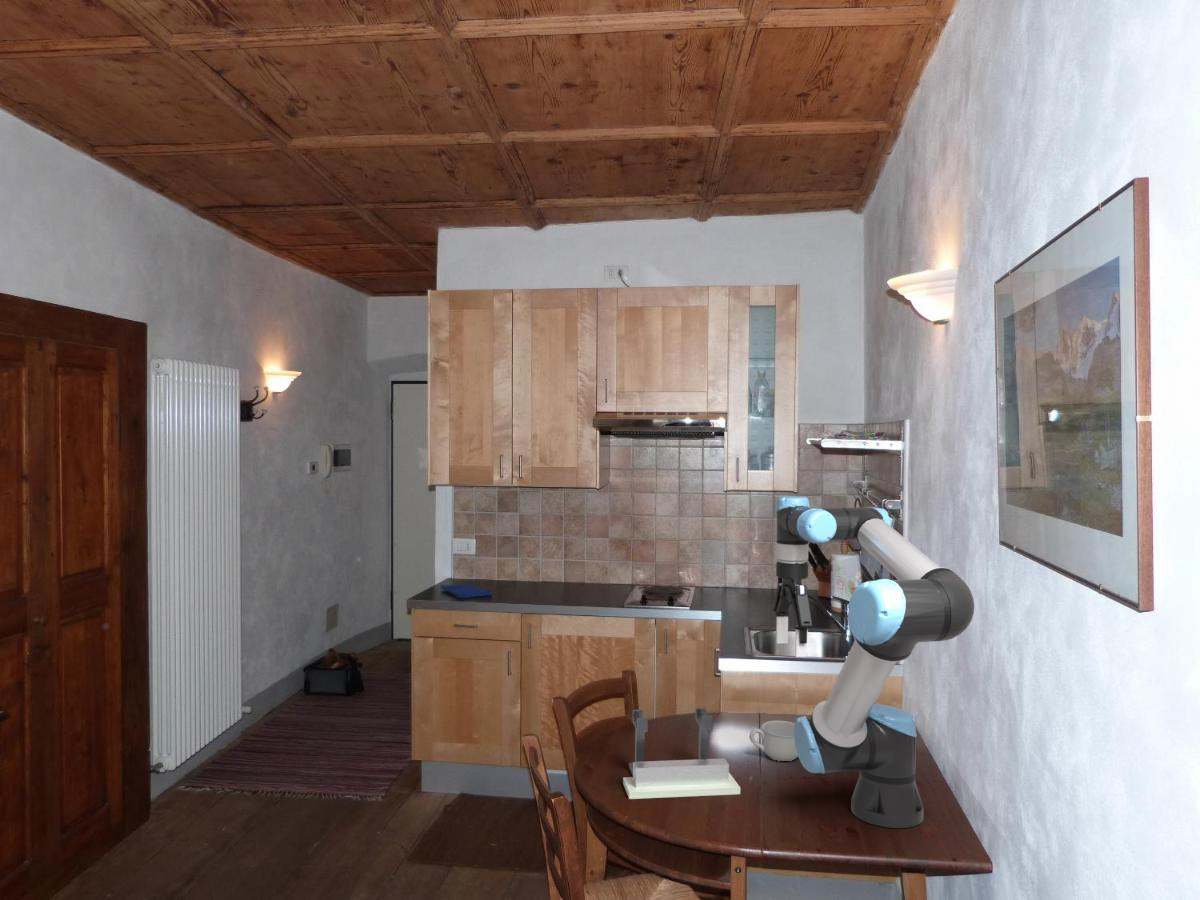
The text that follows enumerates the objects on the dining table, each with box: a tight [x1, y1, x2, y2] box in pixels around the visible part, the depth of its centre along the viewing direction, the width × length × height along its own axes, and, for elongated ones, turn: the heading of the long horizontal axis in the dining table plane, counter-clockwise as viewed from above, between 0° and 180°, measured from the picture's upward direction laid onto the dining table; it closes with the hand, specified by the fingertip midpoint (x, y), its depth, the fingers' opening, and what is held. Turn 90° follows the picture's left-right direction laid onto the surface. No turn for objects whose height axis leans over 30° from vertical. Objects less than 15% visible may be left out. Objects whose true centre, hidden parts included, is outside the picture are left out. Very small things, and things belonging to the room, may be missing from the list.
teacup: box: [749, 720, 799, 762], centre depth 228 cm, size 14×11×8 cm
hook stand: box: [628, 707, 714, 777], centre depth 218 cm, size 8×20×14 cm, turn 97°
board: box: [622, 772, 741, 800], centre depth 207 cm, size 9×26×2 cm, turn 97°
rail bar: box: [632, 757, 730, 788], centre depth 207 cm, size 4×22×4 cm, turn 97°
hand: (791, 649), depth 212 cm, fingers open, 13 cm apart
